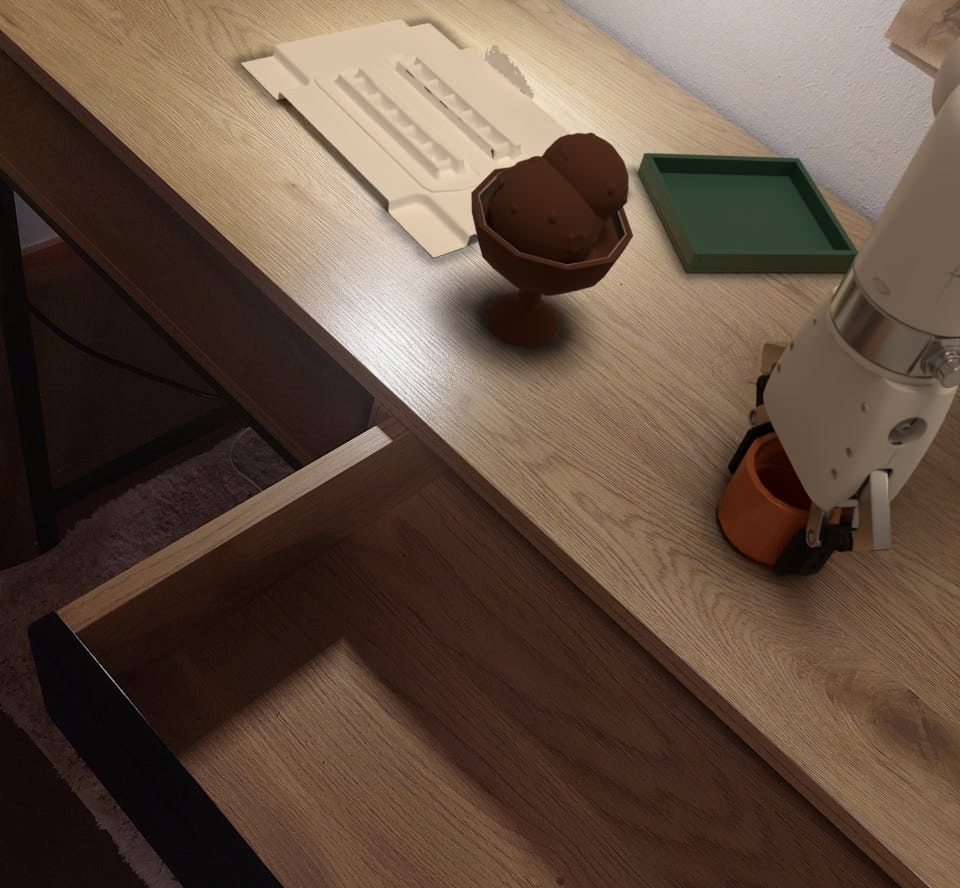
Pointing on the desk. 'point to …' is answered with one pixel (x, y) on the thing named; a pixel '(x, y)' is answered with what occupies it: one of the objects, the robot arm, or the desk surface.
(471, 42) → the desk surface
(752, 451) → the small cup
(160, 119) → the desk surface
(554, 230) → the ice cream bowl
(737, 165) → the green tray
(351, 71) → the tray
